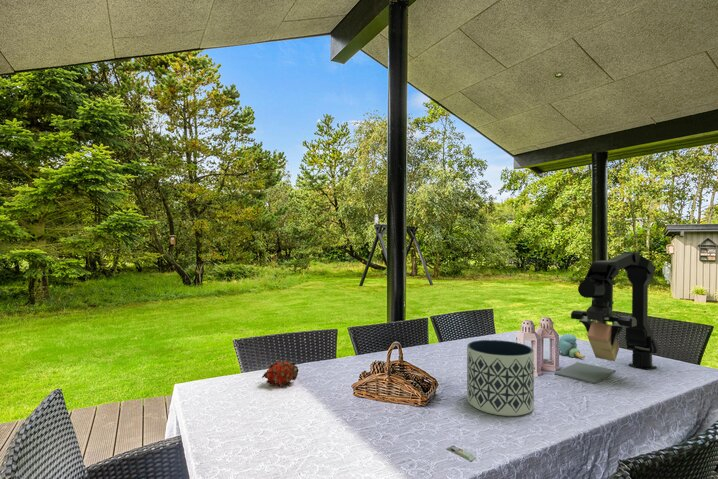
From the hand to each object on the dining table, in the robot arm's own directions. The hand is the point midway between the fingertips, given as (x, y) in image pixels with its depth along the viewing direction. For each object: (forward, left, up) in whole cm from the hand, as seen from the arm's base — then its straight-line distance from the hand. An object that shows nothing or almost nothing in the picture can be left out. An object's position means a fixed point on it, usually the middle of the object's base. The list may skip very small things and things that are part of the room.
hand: (601, 343), depth 138 cm
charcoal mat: (-1, -7, -12) cm, 14 cm away
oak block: (-5, -2, -4) cm, 7 cm away
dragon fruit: (+104, -35, -13) cm, 110 cm away
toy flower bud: (-15, -25, -13) cm, 32 cm away
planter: (+48, +4, -13) cm, 49 cm away
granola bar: (+75, +23, -13) cm, 79 cm away
